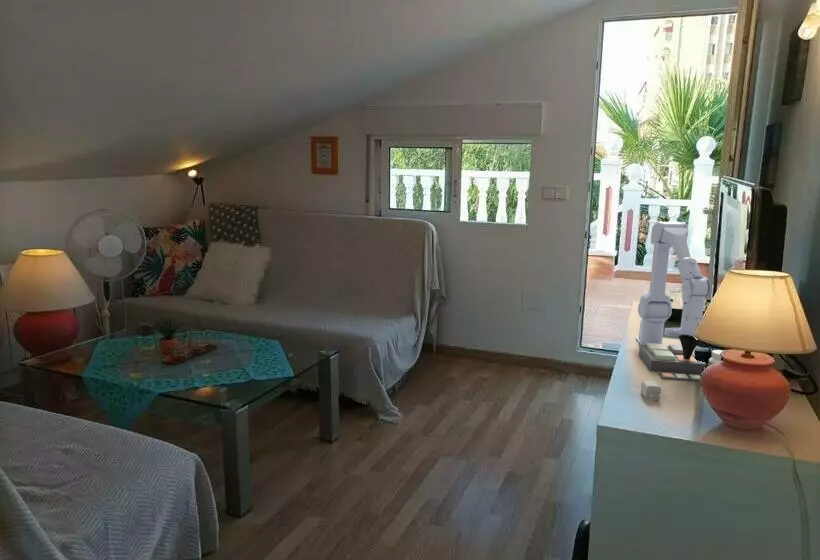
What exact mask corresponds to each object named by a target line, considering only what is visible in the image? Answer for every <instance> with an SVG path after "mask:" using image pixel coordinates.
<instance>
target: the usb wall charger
mask: <svg viewBox="0 0 820 560" xmlns="http://www.w3.org/2000/svg"><path fill="white" fill-rule="evenodd" d="M640 393H641V395H643V397H644V398H645V400H648V399H650V400H649V401H651V400H653V401H659V400H660V399H661V395H662V387H661V385H659V384H658V382H657V381H656V380H652V379H651V380H649V379H644V380H642V381H641V385H640Z"/></svg>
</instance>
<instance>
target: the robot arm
mask: <svg viewBox="0 0 820 560" xmlns="http://www.w3.org/2000/svg"><path fill="white" fill-rule="evenodd" d="M688 235H689V227H688V225H687V223H686V222H685V221H681V222H679V221H675V222H674V221H655V223H654V224H653V225H652V227H651V234H650V244H651V245H652V246H653V252H652V253H653V254H652V260H651V261H652V262H651V271H650V272H651V274H650V281H649V282H650V283H649V291H647V292H646V293H645V294H643V295H641V296H640V300H639V303H638V306H637V313H638V316H639V317H640V318H641V320H640V322H639V331H638V336H635V339H636V341H637V342H638V343H639V345H640V344H642V345H647V343H656V344H664V343H663V336H664V335H665V336H668V337H669V336H678V339H679V341H680V344H681V345H682V349H683V357H684V358H685V359H690V357H691V355H692V353H693V351H694V350H695V349H696V347H697V346H698V345H699V344H700V342H701V340H700V341H698V340H696V339H695V338H694V337H693V333H694V331H695V329H696V327H697V325H698V323H699V322H700V320H701V318H702V319H703V314H704V308H705V299H706V297H708V296H709V295H710V292H711V283H710V280H709V279H708V277H706V276H705V275H704V274H703V275H702V272H701V269H700V267H699V264H698V262H697V260H696V259H695V258H693V257H692V256H691V252H690V249H689V245H688V242H687V239H688ZM671 248H672V249H673V251H674V254H675V256H676V257H677V259H678V263H677V269H678V273H679V275H680V278H681V280H682V283H681V284H682V285H681V293H682V294H681V295H682V297H681V299H682V301H683V304H682V313H681V320H680V326H679V327H665V322H667V321H668V319H670V317H672V316H671V315H672V299H671V297H670V296H668V295H667V294H666V288H667V287H666V286H667V277H668V267H669V259H670V258H669V257H670V250H671ZM694 352H695V351H694Z"/></svg>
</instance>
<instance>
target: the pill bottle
mask: <svg viewBox="0 0 820 560" xmlns="http://www.w3.org/2000/svg"><path fill="white" fill-rule="evenodd" d="M722 351H724V350H721V349H713V350H712V351H711V357H710V358H709V359H708V363H707V366H708V365H711V364H713V363H716V362H719V361H721V356H720V353H721V352H722Z"/></svg>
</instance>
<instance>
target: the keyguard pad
mask: <svg viewBox="0 0 820 560" xmlns="http://www.w3.org/2000/svg"><path fill="white" fill-rule="evenodd" d="M665 346H666V347H667V348H668V349H669V345H665ZM638 348H639V349H638V356H639V357H640V359H641V360H642V362H643V363H644V365H645V366H646V367H647V369H648V370H649V372H650V371H654V372H653V373H673V374H687V375H700V374H701V372H702V369H703V368H704V367H705V366H706V367H707V363H706V362H705V361H704V362H702V361H699V360H698V362H689V361H679V360H678V359H677V358H676V357H675V361H674V360H660V359H655V358H654V356H653V355H652V352H650V351H649V350H648V349H647V345H642V344H640V343H639V347H638ZM669 351H670V350H669ZM672 354H673V353H672ZM673 355H674V356H675V355H683V354H673ZM691 356H693V357H694V355H693V353H692V355H691Z"/></svg>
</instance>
